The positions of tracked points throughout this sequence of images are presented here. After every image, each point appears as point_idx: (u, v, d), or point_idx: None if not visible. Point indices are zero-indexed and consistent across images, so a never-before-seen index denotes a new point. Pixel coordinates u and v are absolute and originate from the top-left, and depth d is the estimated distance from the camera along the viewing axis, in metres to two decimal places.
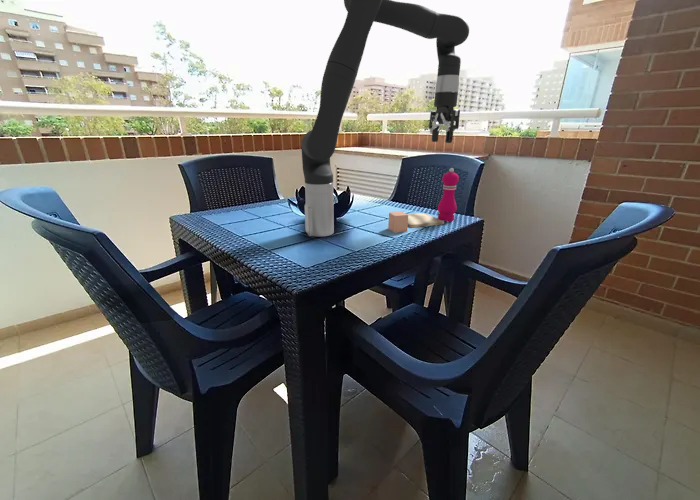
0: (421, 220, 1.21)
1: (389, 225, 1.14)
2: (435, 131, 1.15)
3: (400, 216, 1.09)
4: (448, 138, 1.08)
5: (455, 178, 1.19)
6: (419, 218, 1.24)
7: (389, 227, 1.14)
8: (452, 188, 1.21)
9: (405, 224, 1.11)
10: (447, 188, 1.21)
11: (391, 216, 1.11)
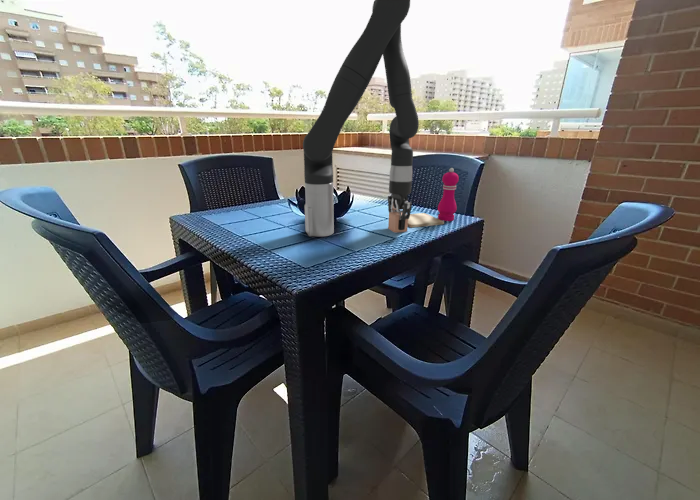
0: (421, 220, 1.21)
1: (389, 225, 1.14)
2: None
3: None
4: None
5: (455, 178, 1.19)
6: (419, 218, 1.24)
7: (389, 227, 1.14)
8: (452, 188, 1.21)
9: (405, 224, 1.11)
10: (447, 188, 1.21)
11: (391, 216, 1.11)
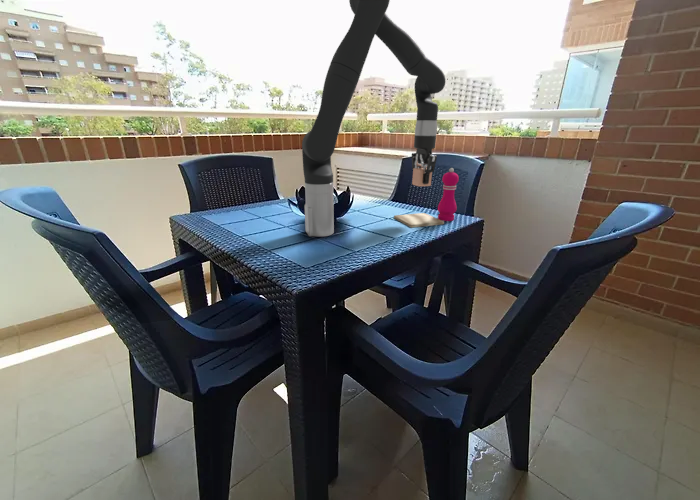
0: (421, 220, 1.21)
1: (413, 180, 1.20)
2: None
3: None
4: None
5: (455, 178, 1.19)
6: (419, 218, 1.24)
7: (413, 182, 1.20)
8: (452, 188, 1.21)
9: (429, 178, 1.17)
10: (447, 188, 1.21)
11: (416, 171, 1.17)
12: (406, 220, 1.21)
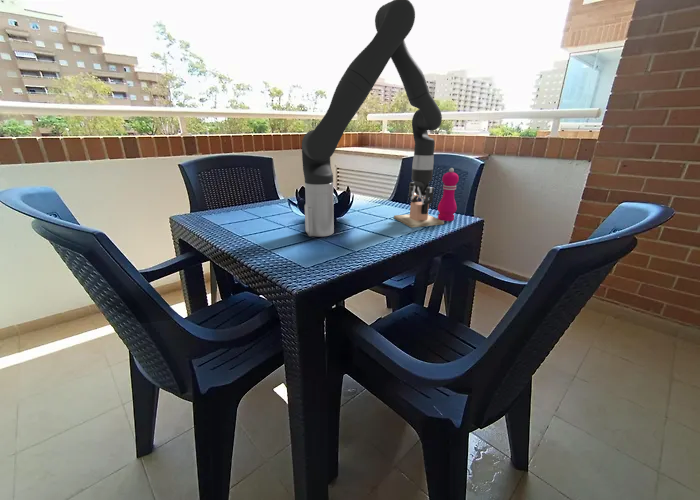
0: (421, 220, 1.21)
1: (411, 214, 1.24)
2: None
3: (421, 205, 1.20)
4: None
5: (455, 178, 1.19)
6: None
7: (411, 216, 1.24)
8: (452, 188, 1.21)
9: None
10: (447, 188, 1.21)
11: (413, 205, 1.22)
12: (406, 220, 1.21)
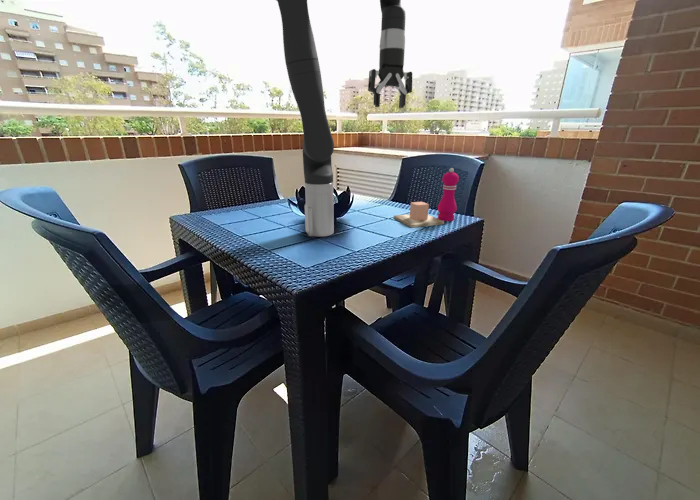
0: (421, 220, 1.21)
1: (411, 214, 1.24)
2: None
3: (421, 205, 1.20)
4: (404, 102, 1.03)
5: (455, 178, 1.19)
6: None
7: (411, 216, 1.24)
8: (452, 188, 1.21)
9: (426, 213, 1.21)
10: (447, 188, 1.21)
11: (413, 205, 1.22)
12: (406, 220, 1.21)
